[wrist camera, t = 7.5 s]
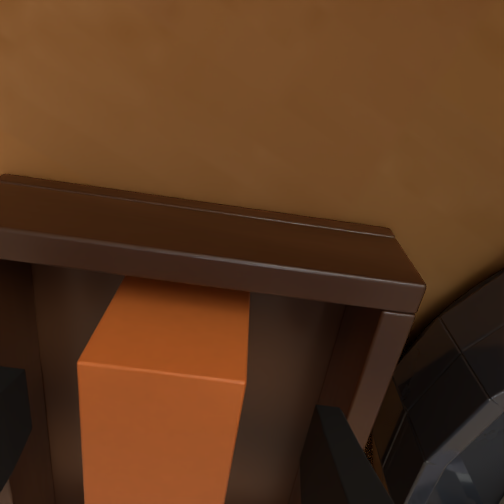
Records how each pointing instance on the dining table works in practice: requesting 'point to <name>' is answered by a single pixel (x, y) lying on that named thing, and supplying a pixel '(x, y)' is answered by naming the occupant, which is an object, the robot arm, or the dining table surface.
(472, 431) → the bowl
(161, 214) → the holder
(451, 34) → the dining table surface
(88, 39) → the dining table surface
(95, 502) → the orange rectangular block
